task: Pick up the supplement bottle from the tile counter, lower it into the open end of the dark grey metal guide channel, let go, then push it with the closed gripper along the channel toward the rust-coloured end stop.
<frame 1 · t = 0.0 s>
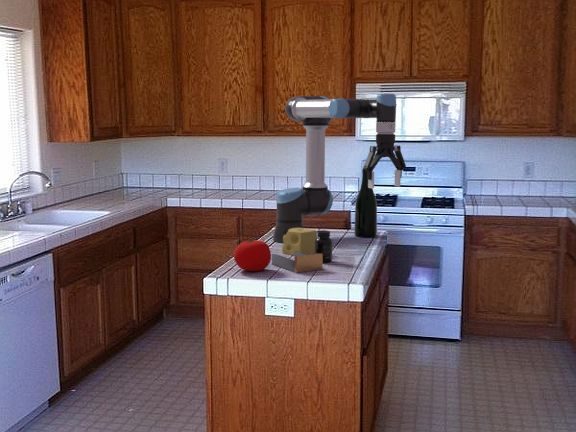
hand: (384, 187, 272), 28 cm above the countertop, tool pointing down, fingers open, 13 cm apart
tomato: (252, 271, 250), on the countertop
guide channel: (295, 266, 257), on the countertop
beer bottle: (365, 236, 322), on the countertop
supplement bottle: (323, 262, 266), on the countertop
cheese: (300, 254, 282), on the countertop
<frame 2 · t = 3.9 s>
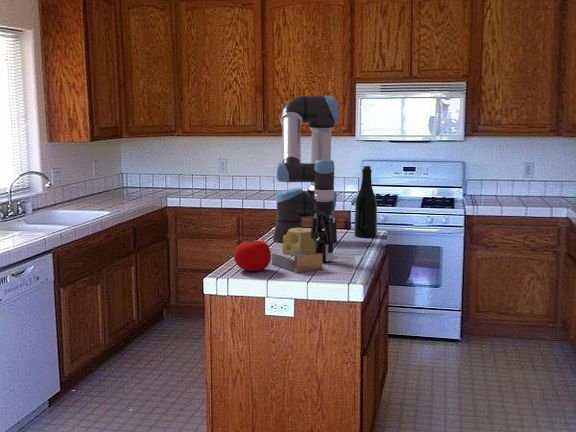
hand: (323, 258, 266), 1 cm above the countertop, tool pointing down, fingers closed on supplement bottle, 7 cm apart
supplement bottle: (323, 262, 266), on the countertop, touching gripper
everything else where it was.
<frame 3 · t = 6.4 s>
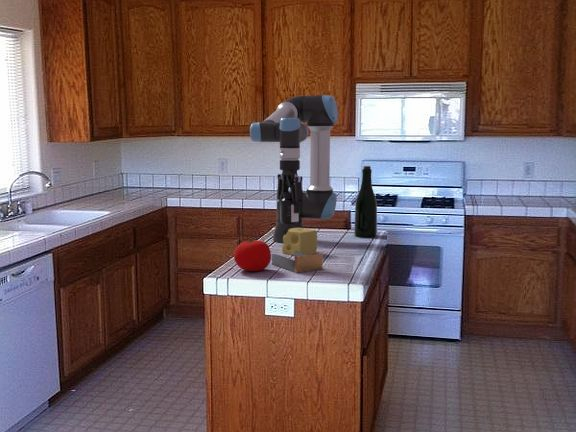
hand: (289, 220, 259), 17 cm above the countertop, tool pointing down, fingers closed on supplement bottle, 7 cm apart
supplement bottle: (289, 223, 259), point 16 cm above the countertop, touching gripper
everything else where it was.
when the fingers open (3 cm above the countertop, at t = 8.9 s): supplement bottle drops 1 cm, resting on guide channel.
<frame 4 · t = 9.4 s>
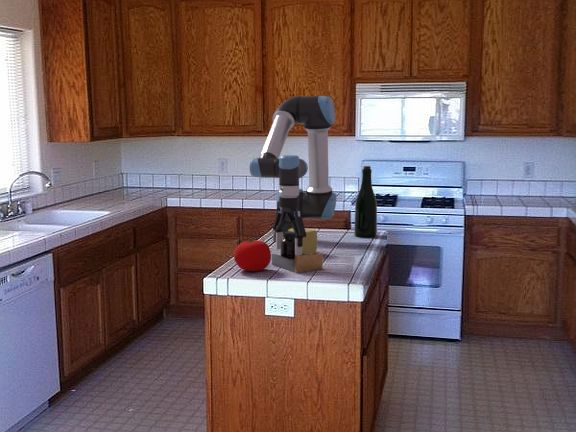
hand: (288, 252, 260), 5 cm above the countertop, tool pointing down, fingers open, 13 cm apart
supplement bottle: (289, 263, 261), resting on guide channel
everything else where it was.
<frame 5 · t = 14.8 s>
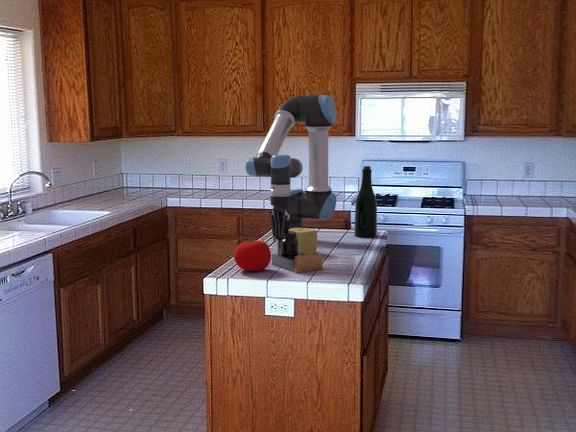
hand: (279, 255, 265), 2 cm above the countertop, tool pointing down, fingers closed
supplement bottle: (289, 263, 261), resting on guide channel, touching gripper, hand
everything else where it was.
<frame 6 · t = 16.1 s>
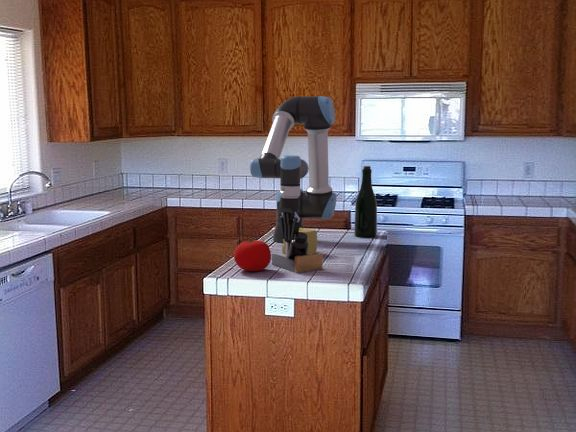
hand: (289, 258, 260), 2 cm above the countertop, tool pointing down, fingers closed
supplement bottle: (295, 262, 257), point 1 cm above the countertop, touching gripper, guide channel, hand
everything else where it was.
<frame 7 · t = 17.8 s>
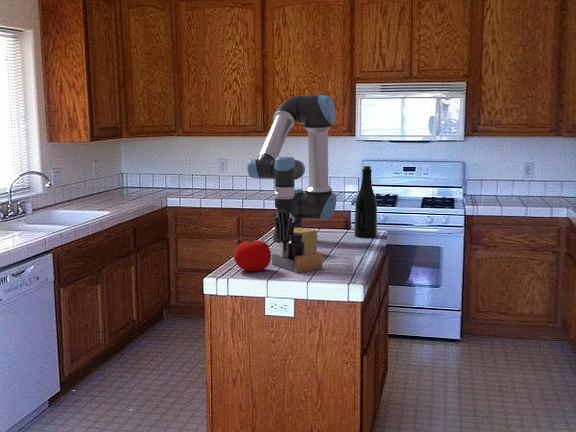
hand: (284, 258, 264), 2 cm above the countertop, tool pointing down, fingers closed
supplement bottle: (295, 265, 257), resting on guide channel
everything else where it was.
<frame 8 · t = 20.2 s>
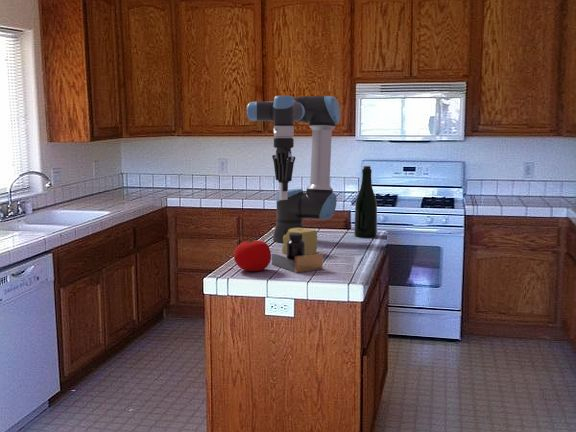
hand: (283, 199, 261), 24 cm above the countertop, tool pointing down, fingers closed
nothing on the countertop moved.
at the end: supplement bottle inside the target area (3.7 cm from its centre), resting on guide channel; supplement bottle tilted 0°; the gripper is holding nothing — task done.
